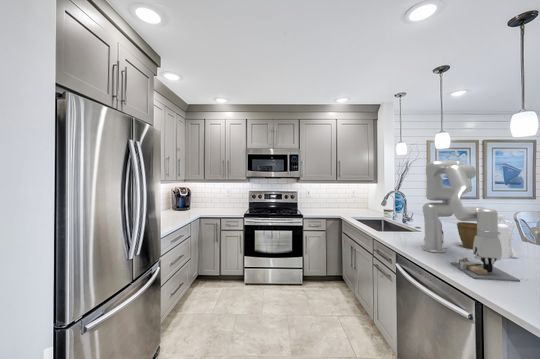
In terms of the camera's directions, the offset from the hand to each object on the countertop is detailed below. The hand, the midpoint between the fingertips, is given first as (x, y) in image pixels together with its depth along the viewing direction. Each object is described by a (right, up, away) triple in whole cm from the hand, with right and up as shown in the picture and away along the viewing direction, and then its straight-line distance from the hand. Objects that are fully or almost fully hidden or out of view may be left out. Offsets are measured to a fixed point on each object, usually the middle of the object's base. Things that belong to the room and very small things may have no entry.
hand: (487, 271), depth 115 cm
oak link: (-3, -1, +6) cm, 7 cm away
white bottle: (+33, -2, +26) cm, 42 cm away
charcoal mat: (+1, -2, +5) cm, 5 cm away
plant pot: (+30, -2, +45) cm, 54 cm away
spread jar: (+16, -2, +62) cm, 64 cm away
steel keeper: (-3, -2, +6) cm, 7 cm away
